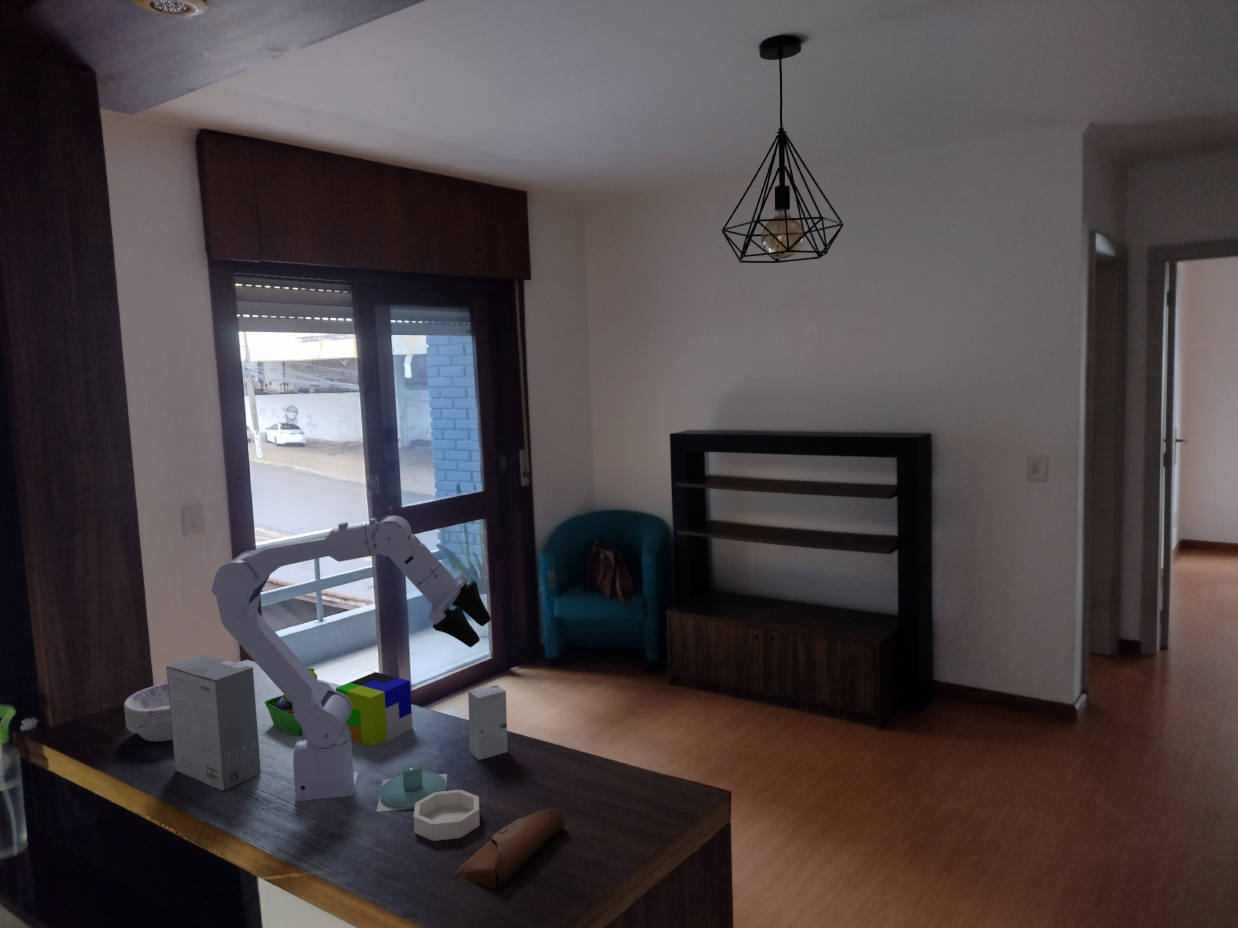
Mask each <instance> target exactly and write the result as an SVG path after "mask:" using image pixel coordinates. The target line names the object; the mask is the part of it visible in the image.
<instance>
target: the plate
mask: <svg viewBox="0 0 1238 928" xmlns="http://www.w3.org/2000/svg"><path fill="white" fill-rule="evenodd" d="M436 774H437V773H436ZM437 775H440V776H441V777H443V778H444V779H445V781H446V787H447V786H448V785H447V784H448V783H447V781H448V773H440V774H439V773H438V774H437ZM391 779H392V778H387V779H383V780H382V784H381V787H382V786H383V785H384V784H385V783H386V782H387V781H389V780H391ZM410 809H411V810H412V809H414V808H407V809H406V810H410ZM401 810H403V811H404V809H402V808H393V807H390V806H387V805H385V804H384V803H383V802H382V801H381V800H380V796H379V798H378V803H377V808H376V813H381V812H382V813H383V812H391V811H401Z"/></svg>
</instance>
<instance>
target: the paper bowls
mask: <svg viewBox="0 0 1238 928" xmlns="http://www.w3.org/2000/svg"><path fill="white" fill-rule="evenodd" d="M123 710H124V720H125V727H126V729H127V730H128V731H129V732H130V733H133V734H135V735H137V734H138V735H139V736H140V737H141V738H142V739H143V740H145V741H149V742H155V743H157V742H161V743H162V742H168V741H173V738H172V726H171V715H170V703H169V692H168V682H166V683H161V684H156V685H153V686H150V687H147V688H143V689H140V690H139V691H137V692H135V693H133V694H131V695H130V696H128V698H126V699H125V701H124V703H123Z"/></svg>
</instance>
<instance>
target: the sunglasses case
mask: <svg viewBox="0 0 1238 928" xmlns="http://www.w3.org/2000/svg"><path fill="white" fill-rule="evenodd" d="M565 821H566V820H565V815H564V814H563V812H562V811H561V810H560V809H558V808H557V807H551V808H547V809H542V810H540V811H537V812H533V813H532V814H529V815H527V816H524V817H519V818H517V819H516V820H514V821H512V822H511V823H509V824H508V825H506V826H504V827H502V828H501V829H499V830H498V831H497V832H495V833H494V834H493V835H492V836H491V838H490V840H489V841H488V842H487V843H485V844H484V845H483V846H482V847H481V848H479V849H478V850H477V851H476V852H475V853H474V854H472V856H470V858H468V860H467V861H466V862H464V863H463V864H462V865H461V866H460V867H459V868H458V870H456V872H455V875H456V877H457V878H463V879H466V880H468V881H471V882H474V883H477V884H480V885H482V886H483V885H484V886H486V887H488V888H492V889H496V891H499V890H500V889H501V888H502V887H505V886H506V885H507V883H508V882H509V881H510V880H511V879H512V877H514V876H515V874H516V873H518V871H519V869H521V868H523V866H524V865H525V863H527V861H528V860H529V859H530V858H532V856H534V854H536V853H537V852H538V851H539V850H540V849H541V848H542V847H543V846H544V845H545V844H546V843H547V842H548V841H549V840H550V839H551V838H552V837H553V836H555V834H557V833H558V832H559V831H560V830H561V829H563V828H564V826H565V825H566V823H565Z"/></svg>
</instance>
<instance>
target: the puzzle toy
mask: <svg viewBox="0 0 1238 928" xmlns="http://www.w3.org/2000/svg"><path fill="white" fill-rule="evenodd" d="M411 690H412V689H411V681H410V680H407V679H405V678H400V677H397V676H392V675H388V674H386V673H385V674H384V673H381V672H377V671H374V672H372V673H369V674H367V675H364V676H362V677H359V678H357V679H355V680H352V681H350V682H348V683H344V684H342V685H340V686H337V687H335V691H337V692H339V693H342V694H344V695H345V696H347V697H348V699H349V700H350V702H351V704H352V713H351V716H350V718H349V719H348V721H347V726H348V728H349V730H350V731H351V740H352V742H355V741H356V742H355V743H358V742H359V743H358V744H361V743H362V744H361V745H364V744H365V745H364V746H372V747H374V746H378V745H382V744H384V743H386V742H389V741H390V740H392V739H394V738H396V737H398V736H400V735H402V734H404V733H407V732H409V731H410V730H412V729H413V714H412V712H413V711H412V693H411ZM399 734H400V735H399ZM397 735H398V736H397ZM393 737H394V738H393ZM385 741H386V742H385Z"/></svg>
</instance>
